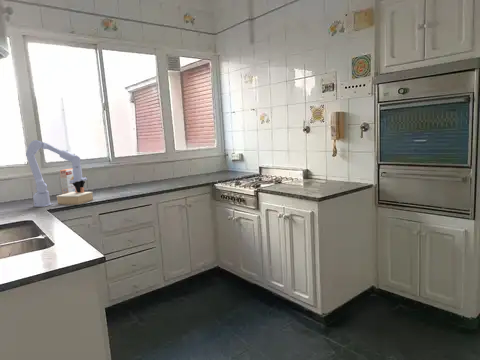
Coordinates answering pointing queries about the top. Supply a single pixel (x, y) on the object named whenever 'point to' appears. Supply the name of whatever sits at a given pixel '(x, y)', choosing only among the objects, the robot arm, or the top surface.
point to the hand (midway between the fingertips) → (80, 191)
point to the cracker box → (67, 181)
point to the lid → (75, 193)
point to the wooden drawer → (75, 199)
